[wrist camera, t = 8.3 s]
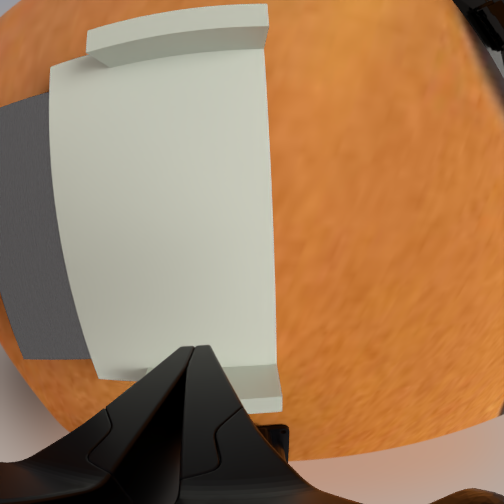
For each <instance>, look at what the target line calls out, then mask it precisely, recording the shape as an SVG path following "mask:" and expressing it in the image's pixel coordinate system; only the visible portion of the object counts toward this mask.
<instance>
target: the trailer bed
mask: <svg viewBox="0 0 504 504" xmlns="http://www.w3.org/2000/svg"><path fill="white" fill-rule="evenodd" d="M268 29H269V19H268V7H267V4H237V5H221V6H209V7H199V8H191V9H183V10H176V11H170V12H164V13H158V14H153V15H147V16H142V17H138V18H133V19H129V20H125V21H121V22H117V23H113V24H109V25H105V26H102V27H98V28H95V29H92V30H88V32H87V45H86V53H87V54H89V55H86V56H82V57H79V58H76V59H73V60H70V61H67V62H64V63H61V64H58V65H55V66H52V67H50V86H49V138H50V157H51V171H52V182H53V191H54V200H55V207H56V215H57V221H58V228H59V234H60V240H61V245H62V250H63V255H64V260H65V265H66V270H67V274H68V279H69V283H70V287H71V291H72V295H73V299H74V303H75V307H76V310H77V314H78V317H79V321H80V324H81V328H82V331H83V334H84V337H85V341H86V344H87V347H88V350H89V353H90V356H91V359H92V361H93V364H94V367H95V370H96V373H97V375H98V378H99V379H108V380H122V381H139V380H140V379H141V378H143V377H144V376H145V375H146V374H148V373H149V372H150V371H151V370H152V369H154V368H155V367H156V366H157V365H159V364H160V363H161V362H162V361H163V360H165V359H166V358H167V357H168V356H170V355H171V354H172V353H173V352H174V351H176V350H177V349H178V348H179V347H181V346H194V347H196V346H197V345H210V346H211V347H212V349H213V351H214V353H215V355H216V357H217V359H218V361H219V363H220V365H221V367H222V368H223V370H224V372H225V374H226V376H227V378H228V380H229V381H230V383H231V385H232V387H233V389H234V390H235V392H236V394H237V396H238V398H239V399H240V401H241V403H242V405H243V406H244V409H245V410H246V411H247V413H248V414H255V413H269V412H281V411H282V392H281V386H280V380H279V374H278V369H277V353H276V304H275V267H274V237H273V210H272V186H271V164H270V144H269V125H268V107H267V90H266V74H265V58H264V46H265V42H266V37H267V33H268Z"/></svg>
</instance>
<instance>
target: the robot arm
mask: <svg viewBox="0 0 504 504" xmlns="http://www.w3.org/2000/svg"><path fill="white" fill-rule="evenodd" d="M282 430H283V431H282ZM288 452H289V427H288V426H286V425H278V426H266V427H256V426H255V424H254V423H253V421H252V420H251V418H250V417H249V415H248V413H247V411H246V410H245V409H244V406H243V405H242V403H241V401H240V399H239V398H238V396H237V394H236V392H235V390H234V389H233V387H232V385H231V383H230V381H229V380H228V378H227V376H226V374H225V372H224V370H223V368H222V367H221V365H220V363H219V361H218V359H217V357H216V355H215V353H214V351H213V349H212V347H211V346H210V345H197V346H196V347H194V346H181V347H179V348H178V349H177V350H176V351H174V352H173V353H172V354H171V355H170V356H168V357H167V358H166V359H165V360H163V361H162V362H161V363H160V364H159V365H157V366H156V367H155V368H154V369H152V370H151V371H150V372H149V373H148V374H146V375H145V376H144V377H143V378H141V379H140V380H139V381H138V382H136V383H135V384H134V385H133V386H131V387H130V388H129V389H128V390H126V391H125V392H124V393H123V394H121V395H120V396H119V397H118V398H116V399H115V400H114V401H113V402H111V403H110V404H109V405H108V406H106V409H102V410H101V411H100V412H99V413H97V414H96V415H95V416H93V417H92V418H91V419H89V420H88V421H87V422H85V423H84V424H83V425H81V426H80V427H78V428H77V429H75V430H74V431H72V432H71V433H69V434H68V435H66V436H64V437H63V438H61V439H59V440H58V441H56V442H55V443H53V444H51V445H50V446H48V447H46V448H45V449H43V450H41V451H40V452H38V453H36V454H35V455H33V456H31V457H29V458H27V459H24V460H22V461H18V462H9V463H4V462H0V504H362V503H359V502H355V501H352V500H348V499H345V498H342V497H339V496H335V495H332V494H329V493H326V492H323V491H321V490H319V489H317V488H315V487H313V486H312V485H310V484H309V483H308V482H307V481H305V480H304V479H303V478H302V477H301V476H300V475H299V474H298V473H297V472H296V471H295V470H294V469H293V468H292V467H291V466H290V465H289V464H288ZM430 504H504V496H503V495H500V494H497V493H495V492H490V491H486V490H481V489H476V488H471V489H464V490H461V491H458V492H455V493H453V494H450V495H448V496H446V497H444V498H441V499H439V500H437V501H435V502H432V503H430Z"/></svg>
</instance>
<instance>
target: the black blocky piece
mask: <svg viewBox="0 0 504 504" xmlns="http://www.w3.org/2000/svg"><path fill="white" fill-rule="evenodd" d="M453 2H454V3H455V4H456V5H457V7H458V8H459V9H460V11H461V12H462V13H463V15H464V16H465V17H466V19H467V20H468V22H469V23H470V24H471V26H472V27H473V29H474V30H475V32H476V33H477V34H478V36H479V37H480V39H481V41H482V42H483V44H484V45H485V47H486V48H487V50H488V52H489V53H490V55H491V56H492V58H493V60H494V62H495V63H496V65H497V67H498V68H499V70H500V72H501V74H502V76H503V77H504V0H453Z"/></svg>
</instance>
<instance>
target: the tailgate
mask: <svg viewBox="0 0 504 504" xmlns="http://www.w3.org/2000/svg"><path fill="white" fill-rule="evenodd" d="M0 293H1V296H2V300H3V303H4V306H5V309H6V312H7V315H8V318H9V321H10V324H11V327H12V330H13V332H14V335H15V338H16V340H17V343H18V346H19V348H20V351H21V353H22V355H23V358H24V359H48V360H55V359H91V356H90V353H89V350H88V347H87V344H86V341H85V337H84V334H83V331H82V328H81V324H80V321H79V317H78V314H77V310H76V307H75V303H74V299H73V295H72V291H71V287H70V283H69V279H68V274H67V270H66V265H65V260H64V255H63V250H62V245H61V240H60V234H59V228H58V221H57V215H56V207H55V200H54V191H53V182H52V171H51V157H50V138H49V92H47V93H43V94H40V95H37V96H33V97H30V98H27V99H24V100H21V101H18V102H15V103H12V104H9V105H6V106H3V107H1V108H0Z"/></svg>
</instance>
